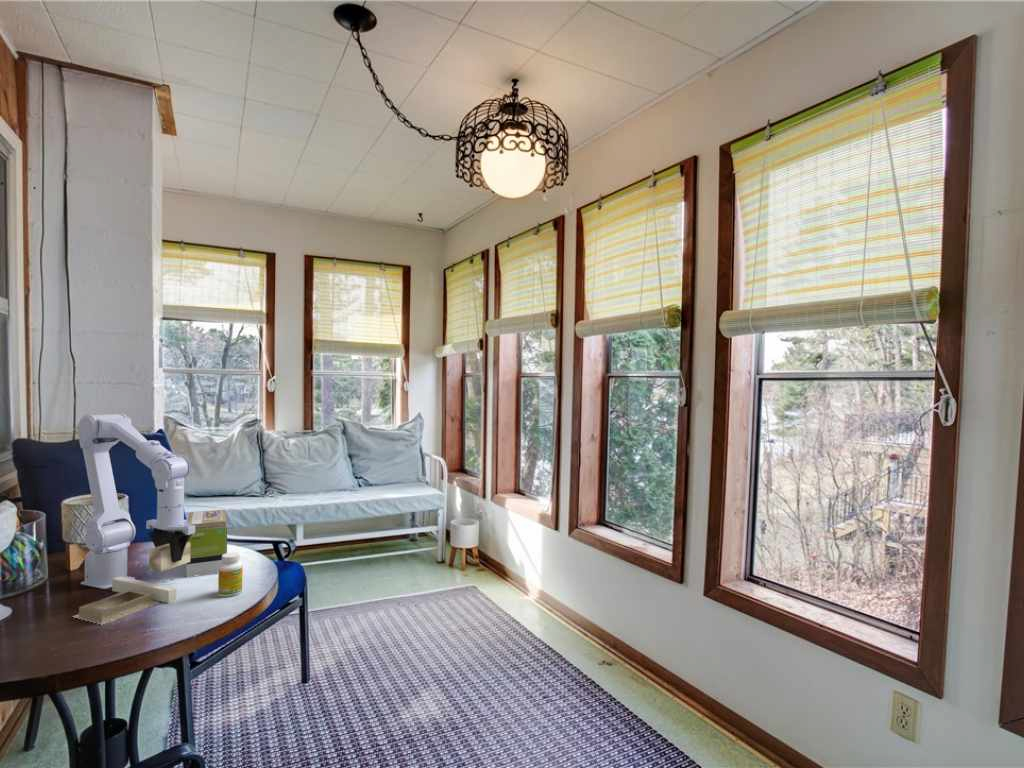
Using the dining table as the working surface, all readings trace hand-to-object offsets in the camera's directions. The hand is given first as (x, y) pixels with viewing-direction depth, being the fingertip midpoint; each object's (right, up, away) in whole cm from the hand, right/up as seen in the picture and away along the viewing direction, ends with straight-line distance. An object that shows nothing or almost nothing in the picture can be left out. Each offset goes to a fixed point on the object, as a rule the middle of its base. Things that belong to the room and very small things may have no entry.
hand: (170, 559), depth 141 cm
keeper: (-6, -8, -11) cm, 15 cm away
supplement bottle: (+15, -9, +1) cm, 17 cm away
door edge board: (-6, -8, -2) cm, 10 cm away
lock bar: (0, -1, 0) cm, 1 cm away
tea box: (-2, -9, +20) cm, 22 cm away
